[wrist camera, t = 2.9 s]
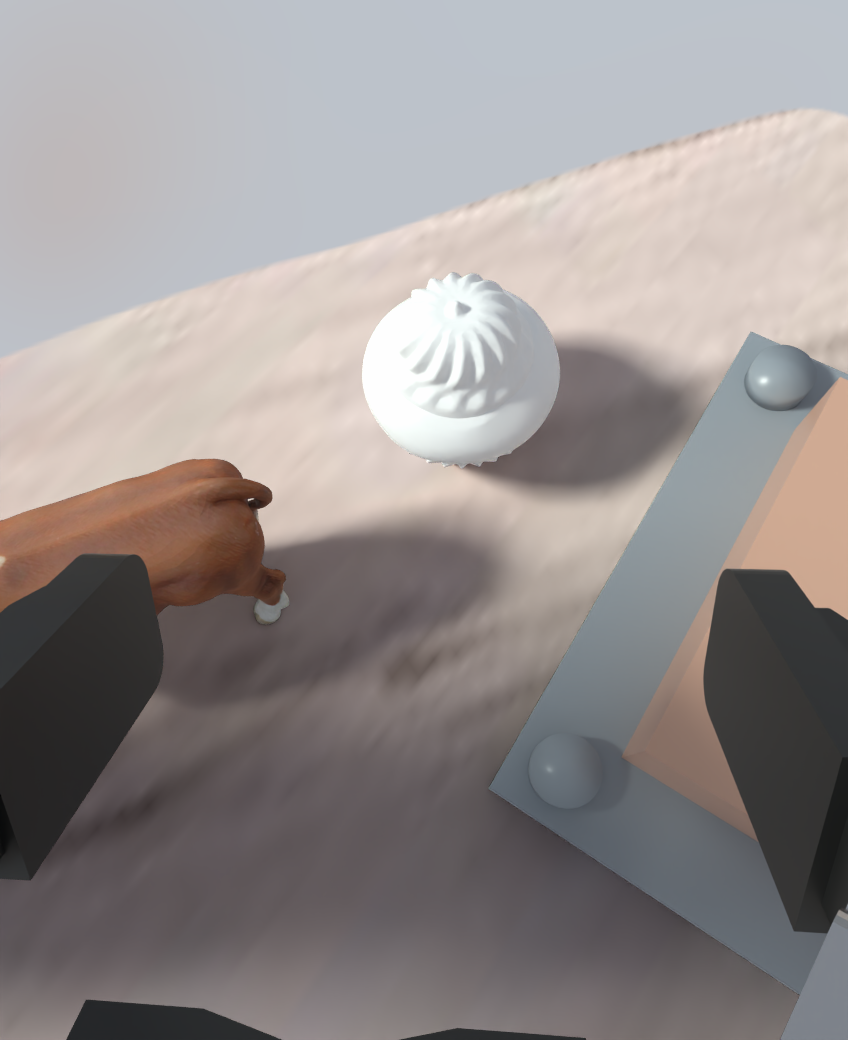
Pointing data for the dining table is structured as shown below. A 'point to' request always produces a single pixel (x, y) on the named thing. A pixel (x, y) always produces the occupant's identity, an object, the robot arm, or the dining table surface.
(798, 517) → the grey pegged tray
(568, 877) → the dining table surface
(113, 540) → the bull figurine
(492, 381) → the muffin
